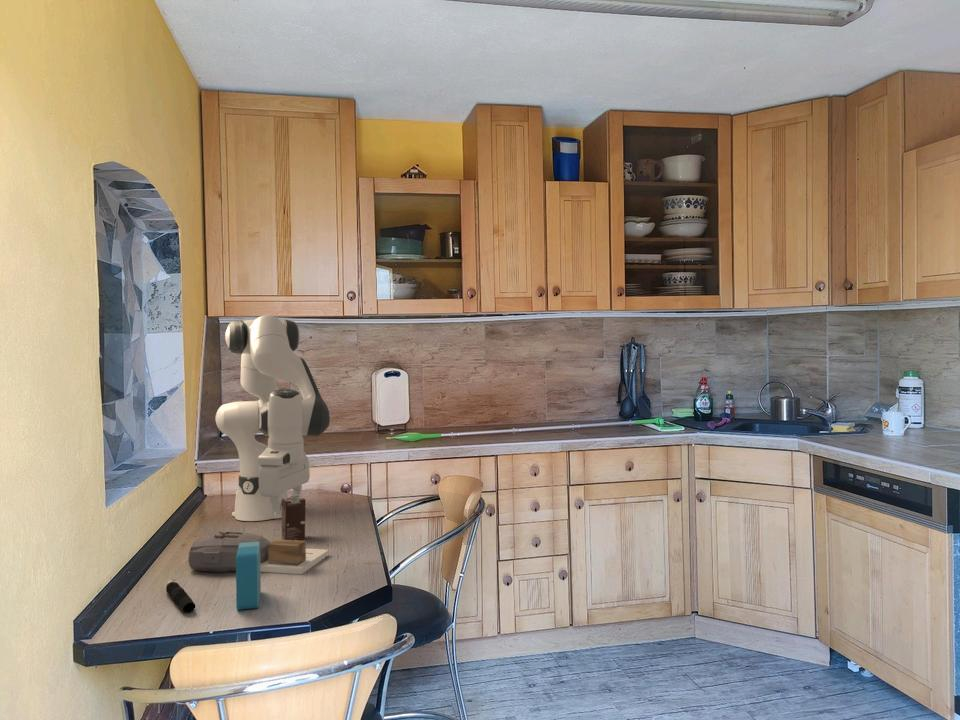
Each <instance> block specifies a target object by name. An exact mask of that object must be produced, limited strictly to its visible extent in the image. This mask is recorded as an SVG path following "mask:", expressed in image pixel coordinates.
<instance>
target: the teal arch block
mask: <svg viewBox="0 0 960 720" xmlns="http://www.w3.org/2000/svg"><path fill="white" fill-rule="evenodd" d="M261 579H262V578H261V571H260V542H246V543H239V547H238V551H237V555H236V571H235V584H236V585H235V588H236V591H235V592H236V593H235V594H236V599H235V602H236V604H235V605H236V610H237V611H242V610H251V609H252V610H253V609H259V608H260V601H261V587H262V586H261V585H262V584H261V582H262V581H261Z"/></svg>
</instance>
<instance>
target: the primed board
mask: <svg viewBox="0 0 960 720" xmlns="http://www.w3.org/2000/svg"><path fill="white" fill-rule="evenodd" d="M329 555H330V554H329V549H323V548H321V549H319V548H306V560H305V561H304V562H302V563H301V564H299V565H298V566H295V565H280V564H269V559H268V560H266V561H265V562H263V563H261V564H260V571H261V572H262V573H274V574H275V573H276V574H287V575H288V574H289V575H292V574H293V575H302V574H304V573H305V572H307V571H308V570H310V569H312V567H314V566H315V565H317V564H318V563H320V562H321V561H323V560H324V559H326V558H327V557H329ZM326 556H327V557H326ZM325 557H326V558H325ZM322 559H323V560H322Z"/></svg>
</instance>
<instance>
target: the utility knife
mask: <svg viewBox="0 0 960 720" xmlns="http://www.w3.org/2000/svg"><path fill="white" fill-rule="evenodd" d="M177 580H178V578H175V579H174V578H173V579H169V580H168V581H167V583H166V587H165V591H166V593H167V595H169V597H170V599H171V600H173V602H174V604H176V606H178V608H179V609H180V610H181V611H182V612H183V613H184V614H188V613H192V612H194V610H195V609H196V603H195V602H194V601H193V599H192V598H191V596H189V594H188V593H187V592H186V591H185V590H184V588H183V587H181V586H180V584H179V583H178V582H175V581H177Z"/></svg>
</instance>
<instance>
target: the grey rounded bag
mask: <svg viewBox="0 0 960 720" xmlns="http://www.w3.org/2000/svg"><path fill="white" fill-rule="evenodd" d="M246 542H260V564H261V563H263V562H265V561H266V560H268V559H269V556H268V544H270V543H271V541H270V540H269V539H267V538H265V537H264V536H262V535H258V534H254V533H251V532H237V531H236V532H235V531H226V532H223V531H218V533H215V534H211V535H207V536H203V537H200V538H198V539H197V540H195V542H193V543H192V545H191V547H190V549H189V552H188V564H189V565H188V566H189V567H190V569H191V570H194V571H195V570H196V571H201V572H202V571H204V572H212V573H213V572H214V573H215V572H216V573H227V572H236V555H237V551H238V547H239V543H246Z"/></svg>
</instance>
